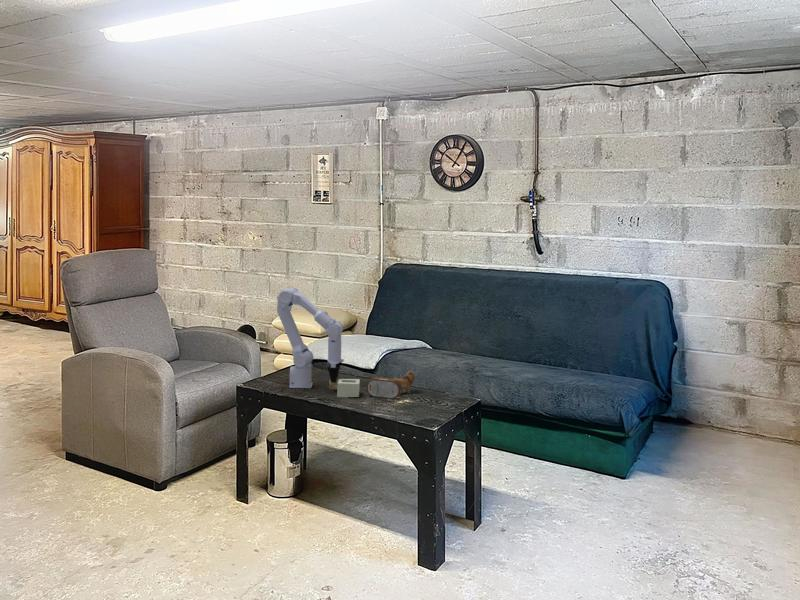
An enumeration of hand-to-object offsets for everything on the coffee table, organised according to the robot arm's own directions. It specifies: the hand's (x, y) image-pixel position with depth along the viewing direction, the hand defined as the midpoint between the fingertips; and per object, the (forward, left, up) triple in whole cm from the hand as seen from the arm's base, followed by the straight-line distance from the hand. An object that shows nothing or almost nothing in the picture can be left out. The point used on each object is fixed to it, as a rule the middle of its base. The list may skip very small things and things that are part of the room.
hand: (334, 380), depth 309 cm
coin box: (+7, -9, -4) cm, 12 cm away
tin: (+22, -12, -4) cm, 25 cm away
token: (0, 0, -4) cm, 4 cm away
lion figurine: (+29, -3, -4) cm, 30 cm away
